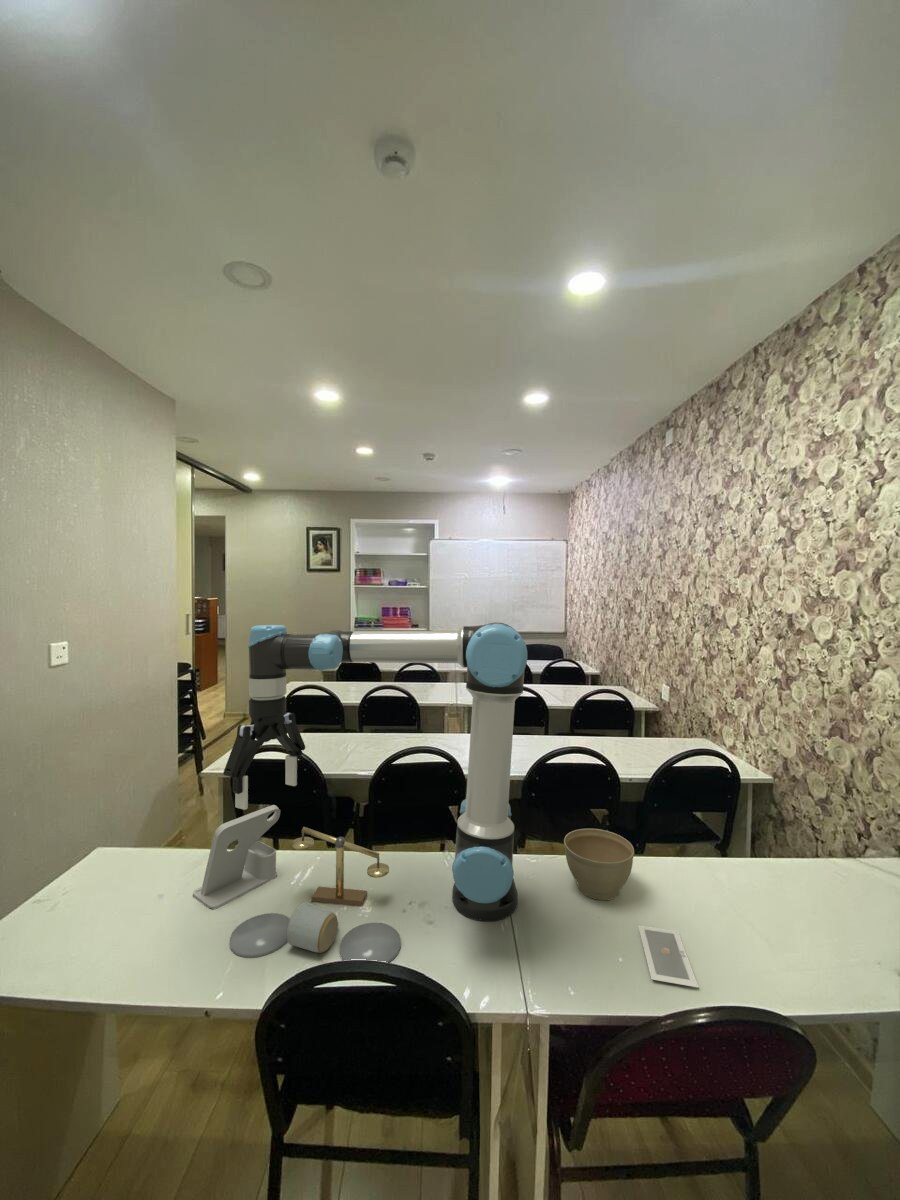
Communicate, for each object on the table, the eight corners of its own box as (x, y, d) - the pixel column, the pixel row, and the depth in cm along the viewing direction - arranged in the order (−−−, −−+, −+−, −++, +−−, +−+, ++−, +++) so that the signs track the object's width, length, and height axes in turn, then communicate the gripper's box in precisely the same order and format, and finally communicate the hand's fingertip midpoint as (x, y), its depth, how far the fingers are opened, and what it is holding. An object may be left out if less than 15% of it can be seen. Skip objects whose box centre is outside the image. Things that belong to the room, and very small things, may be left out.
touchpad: (651, 985, 86) (651, 973, 86) (638, 930, 100) (638, 920, 100) (698, 993, 84) (698, 981, 84) (677, 936, 99) (677, 926, 99)
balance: (391, 896, 111) (391, 827, 111) (385, 910, 106) (386, 838, 106) (296, 888, 113) (297, 821, 114) (287, 901, 108) (288, 831, 109)
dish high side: (302, 919, 102) (302, 915, 102) (275, 960, 90) (275, 956, 90) (250, 914, 104) (250, 910, 104) (216, 954, 92) (216, 950, 92)
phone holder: (258, 862, 125) (259, 794, 125) (281, 875, 119) (282, 804, 119) (190, 895, 111) (191, 818, 111) (213, 911, 105) (214, 830, 105)
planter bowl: (556, 871, 122) (556, 828, 122) (617, 870, 123) (617, 828, 123) (575, 911, 106) (575, 862, 106) (645, 910, 106) (646, 861, 107)
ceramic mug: (320, 963, 90) (321, 923, 90) (285, 953, 92) (286, 915, 92) (347, 929, 100) (348, 893, 100) (315, 921, 102) (316, 886, 102)
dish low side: (406, 929, 100) (406, 925, 100) (392, 973, 88) (392, 968, 88) (351, 924, 101) (351, 920, 101) (330, 966, 89) (330, 962, 89)
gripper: (296, 686, 115) (296, 774, 114) (203, 706, 92) (203, 815, 92) (320, 688, 111) (320, 779, 111) (230, 709, 89) (230, 823, 89)
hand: (267, 795), depth 101 cm, fingers open, 13 cm apart
